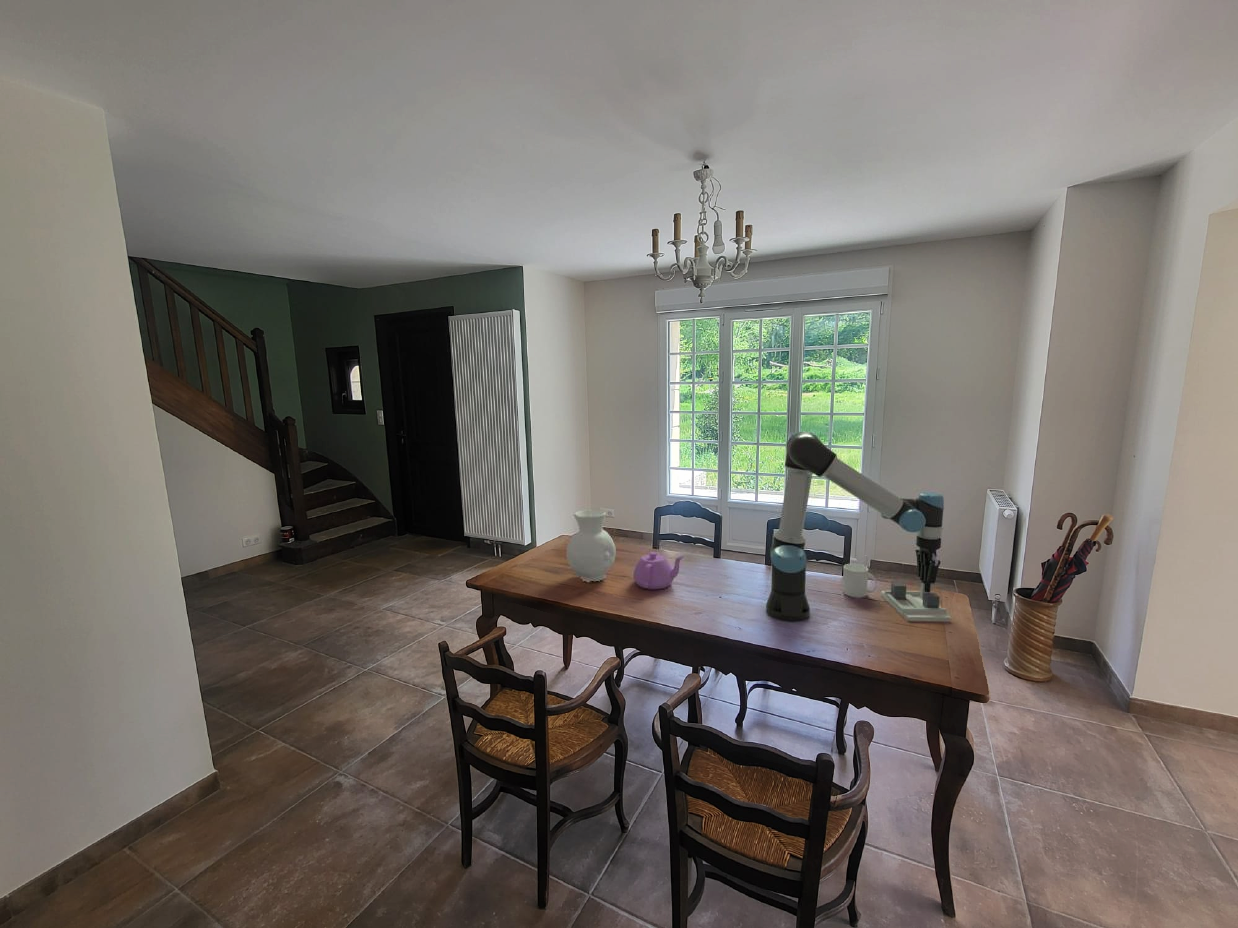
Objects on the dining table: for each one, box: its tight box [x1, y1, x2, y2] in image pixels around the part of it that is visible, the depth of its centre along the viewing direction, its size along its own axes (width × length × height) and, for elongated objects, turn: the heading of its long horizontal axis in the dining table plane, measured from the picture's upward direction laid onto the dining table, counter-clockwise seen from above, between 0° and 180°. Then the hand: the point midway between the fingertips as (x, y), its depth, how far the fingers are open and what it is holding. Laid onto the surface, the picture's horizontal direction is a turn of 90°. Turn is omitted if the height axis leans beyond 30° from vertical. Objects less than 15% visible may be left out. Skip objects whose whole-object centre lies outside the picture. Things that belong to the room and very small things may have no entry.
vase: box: [566, 509, 617, 582], centre depth 218 cm, size 19×21×30 cm
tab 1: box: [890, 582, 907, 599], centre depth 188 cm, size 4×3×5 cm
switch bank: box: [880, 589, 952, 623], centre depth 183 cm, size 14×22×3 cm, turn 175°
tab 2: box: [923, 592, 940, 608], centre depth 178 cm, size 4×3×5 cm
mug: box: [842, 563, 878, 599], centre depth 195 cm, size 9×12×11 cm
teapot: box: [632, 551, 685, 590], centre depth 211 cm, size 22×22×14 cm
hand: (924, 598), depth 182 cm, fingers closed
